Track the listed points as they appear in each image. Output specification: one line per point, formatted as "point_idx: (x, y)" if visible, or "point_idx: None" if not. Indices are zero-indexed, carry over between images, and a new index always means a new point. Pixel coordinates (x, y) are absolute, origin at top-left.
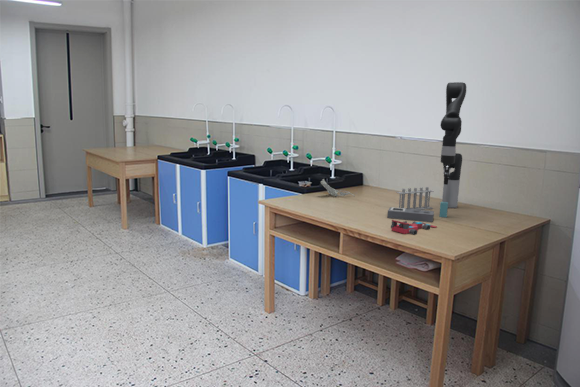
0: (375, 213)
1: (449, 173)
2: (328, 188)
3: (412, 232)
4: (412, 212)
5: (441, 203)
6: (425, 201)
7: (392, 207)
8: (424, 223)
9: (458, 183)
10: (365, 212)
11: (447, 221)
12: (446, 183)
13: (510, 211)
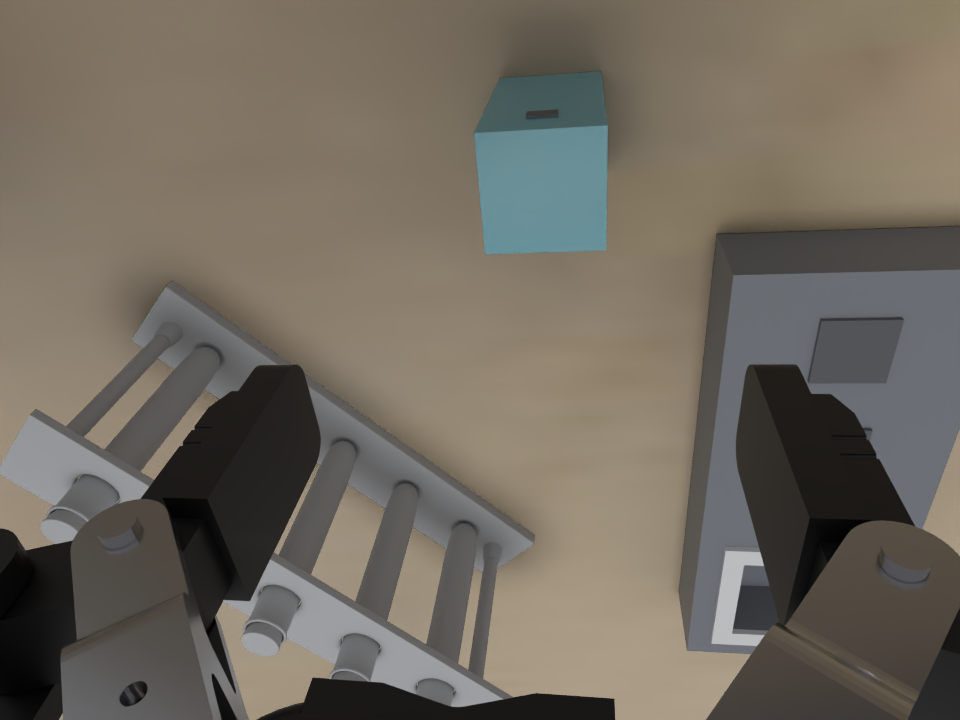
0: (696, 667)
1: (891, 689)
2: None
3: None
4: (905, 485)
5: (606, 230)
6: (192, 403)
7: (718, 640)
8: None
9: None
10: (688, 714)
11: (872, 35)
12: (830, 411)
13: None
